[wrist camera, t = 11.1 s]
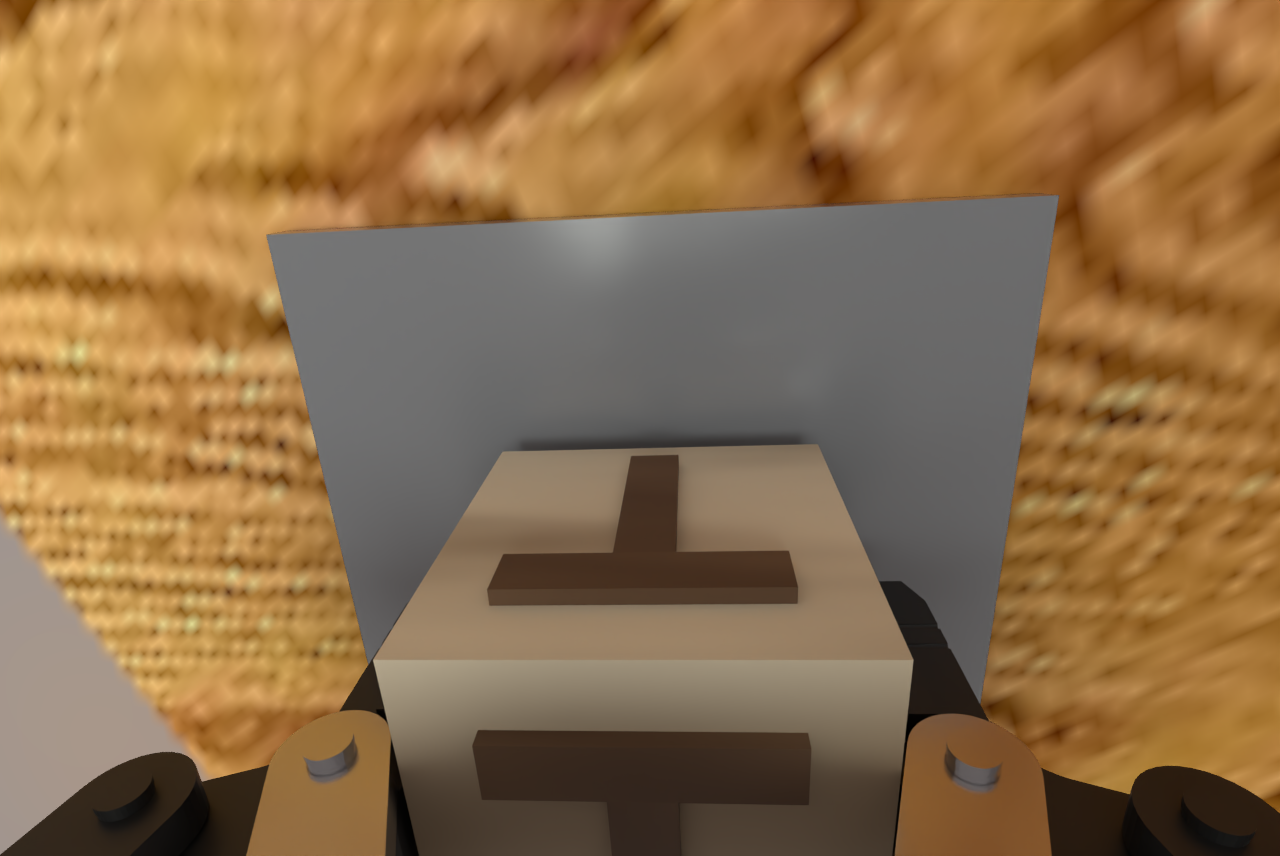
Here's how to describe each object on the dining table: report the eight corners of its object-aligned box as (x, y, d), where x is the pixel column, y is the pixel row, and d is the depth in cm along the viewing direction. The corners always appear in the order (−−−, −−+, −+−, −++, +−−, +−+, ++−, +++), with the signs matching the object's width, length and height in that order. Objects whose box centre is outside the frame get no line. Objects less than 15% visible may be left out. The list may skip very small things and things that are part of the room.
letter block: (807, 698, 13) (879, 1032, 8) (535, 696, 13) (446, 1014, 8) (818, 432, 11) (923, 656, 6) (500, 439, 11) (359, 656, 6)
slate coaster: (1040, 193, 11) (1058, 195, 10) (954, 782, 15) (964, 806, 14) (286, 230, 12) (266, 234, 11) (410, 775, 16) (400, 797, 15)
